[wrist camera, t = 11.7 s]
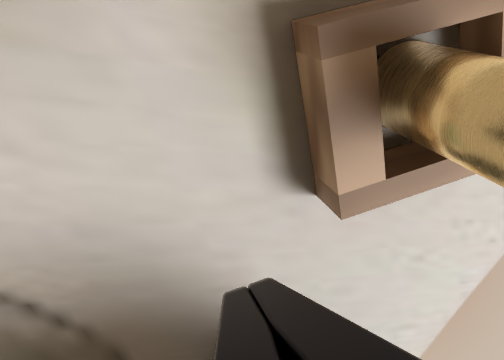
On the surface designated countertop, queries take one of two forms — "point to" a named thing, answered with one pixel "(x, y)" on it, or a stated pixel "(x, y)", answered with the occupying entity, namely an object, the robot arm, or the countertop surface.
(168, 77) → the countertop surface
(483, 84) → the peg
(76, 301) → the countertop surface
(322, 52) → the jig
